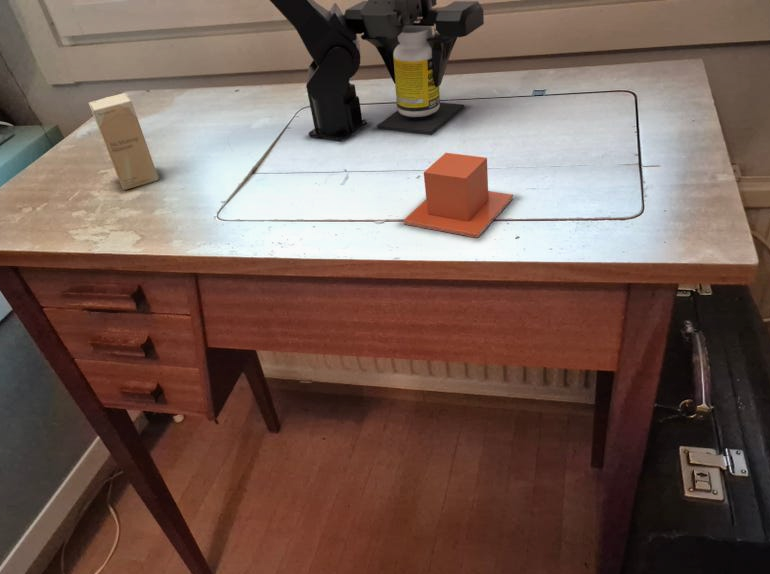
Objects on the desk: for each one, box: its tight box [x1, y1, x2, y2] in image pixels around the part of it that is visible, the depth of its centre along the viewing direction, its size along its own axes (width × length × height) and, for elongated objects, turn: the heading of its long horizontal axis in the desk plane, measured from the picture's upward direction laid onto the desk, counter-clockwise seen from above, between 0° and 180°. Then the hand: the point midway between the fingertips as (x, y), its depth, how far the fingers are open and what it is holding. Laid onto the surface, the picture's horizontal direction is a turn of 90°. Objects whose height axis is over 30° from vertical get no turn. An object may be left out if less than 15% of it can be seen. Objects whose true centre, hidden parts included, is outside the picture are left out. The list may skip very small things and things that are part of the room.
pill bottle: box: [393, 25, 441, 117], centre depth 91 cm, size 6×6×11 cm
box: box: [88, 92, 160, 191], centre depth 89 cm, size 5×4×11 cm
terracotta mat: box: [403, 190, 514, 239], centre depth 73 cm, size 9×9×1 cm
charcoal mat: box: [376, 101, 466, 136], centre depth 95 cm, size 9×10×1 cm
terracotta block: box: [423, 152, 489, 221], centre depth 71 cm, size 5×5×5 cm
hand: (417, 84), depth 92 cm, fingers closed on pill bottle, 6 cm apart
